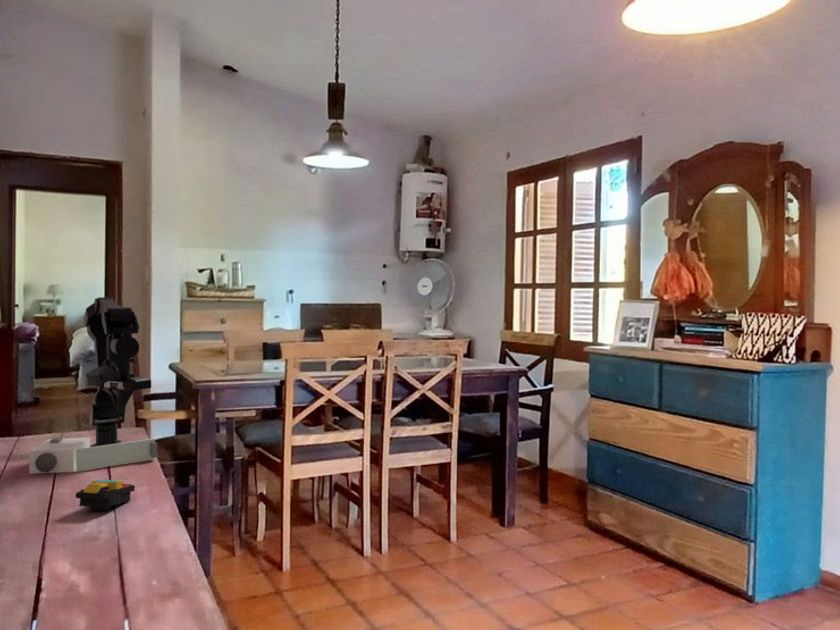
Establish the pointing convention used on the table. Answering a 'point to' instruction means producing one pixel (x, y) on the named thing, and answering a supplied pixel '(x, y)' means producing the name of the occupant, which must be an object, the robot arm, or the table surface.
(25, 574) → the table surface
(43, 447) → the camera case
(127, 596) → the table surface
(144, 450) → the side door
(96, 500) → the gadget
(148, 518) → the table surface
